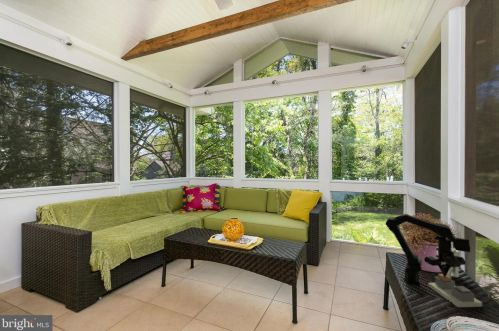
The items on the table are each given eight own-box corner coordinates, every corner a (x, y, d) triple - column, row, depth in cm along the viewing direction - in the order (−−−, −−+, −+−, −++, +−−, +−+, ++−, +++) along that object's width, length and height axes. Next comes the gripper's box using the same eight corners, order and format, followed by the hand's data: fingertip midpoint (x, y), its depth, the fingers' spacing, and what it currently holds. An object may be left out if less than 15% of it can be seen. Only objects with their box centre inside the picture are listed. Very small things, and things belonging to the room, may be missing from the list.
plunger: (462, 300, 118) (462, 290, 117) (455, 295, 122) (455, 286, 121) (470, 300, 118) (470, 290, 117) (462, 295, 122) (462, 286, 121)
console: (457, 307, 116) (457, 295, 115) (428, 286, 135) (428, 275, 134) (482, 306, 116) (482, 294, 115) (449, 285, 135) (449, 275, 134)
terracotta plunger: (444, 286, 129) (444, 277, 128) (438, 282, 133) (438, 273, 132) (451, 286, 129) (451, 277, 128) (445, 282, 133) (445, 273, 132)
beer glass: (463, 278, 142) (463, 254, 142) (449, 277, 143) (449, 253, 143) (455, 272, 149) (455, 249, 148) (442, 272, 150) (442, 249, 150)
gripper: (439, 254, 122) (439, 283, 122) (475, 253, 122) (475, 282, 122) (423, 246, 133) (423, 273, 134) (456, 245, 133) (456, 272, 134)
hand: (444, 275), depth 130 cm, fingers closed, pressing on terracotta plunger
